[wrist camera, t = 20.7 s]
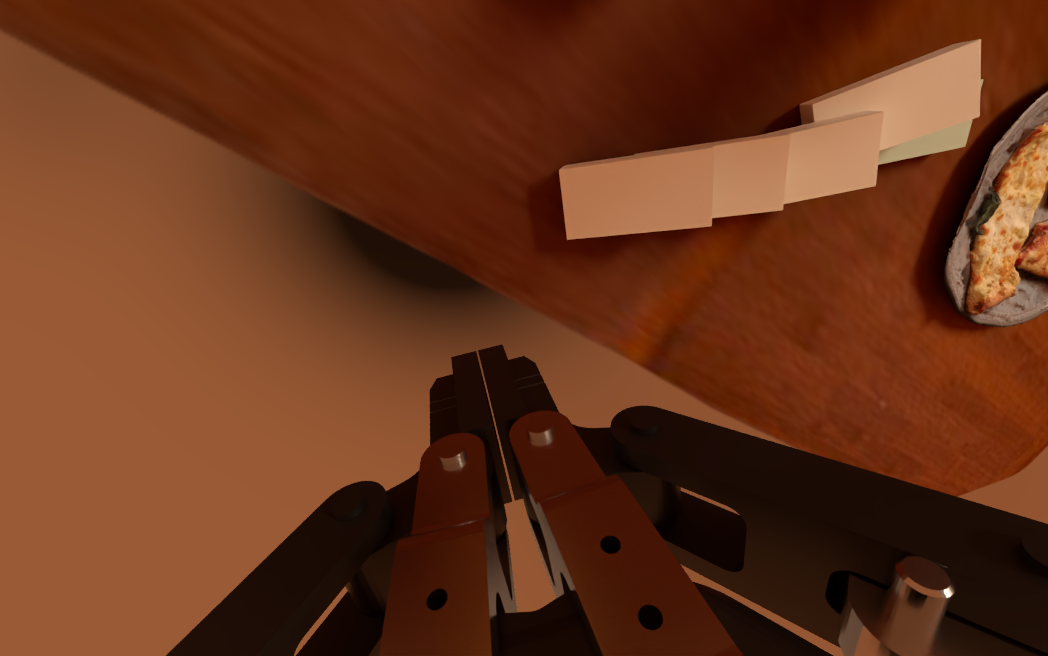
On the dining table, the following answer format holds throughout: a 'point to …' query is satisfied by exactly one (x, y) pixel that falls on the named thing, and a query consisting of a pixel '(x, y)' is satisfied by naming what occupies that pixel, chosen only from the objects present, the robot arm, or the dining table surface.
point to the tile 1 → (639, 193)
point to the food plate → (1006, 230)
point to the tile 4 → (911, 95)
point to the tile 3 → (833, 155)
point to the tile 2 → (748, 174)
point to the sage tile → (929, 143)
